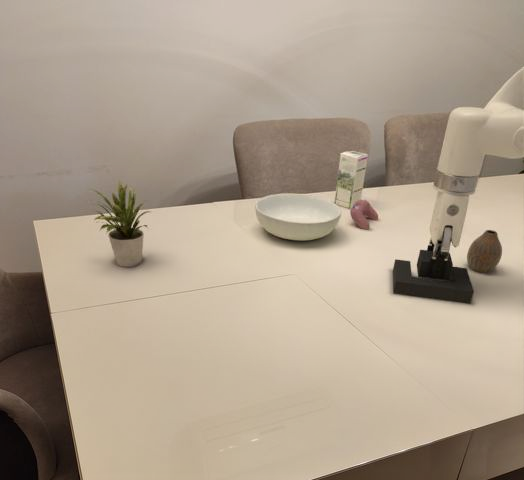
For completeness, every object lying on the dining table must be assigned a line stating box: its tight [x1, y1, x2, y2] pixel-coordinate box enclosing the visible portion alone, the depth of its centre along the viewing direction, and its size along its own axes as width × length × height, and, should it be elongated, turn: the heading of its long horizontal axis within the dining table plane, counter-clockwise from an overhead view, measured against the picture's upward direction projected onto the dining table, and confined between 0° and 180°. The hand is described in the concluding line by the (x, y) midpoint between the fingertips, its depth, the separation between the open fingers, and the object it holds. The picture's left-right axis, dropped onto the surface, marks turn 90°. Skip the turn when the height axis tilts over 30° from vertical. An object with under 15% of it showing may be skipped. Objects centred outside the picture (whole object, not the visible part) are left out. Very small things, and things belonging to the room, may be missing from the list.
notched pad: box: [392, 258, 475, 305], centre depth 102 cm, size 15×11×3 cm
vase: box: [466, 229, 503, 274], centre depth 110 cm, size 7×7×9 cm
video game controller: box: [349, 199, 379, 231], centre depth 132 cm, size 10×5×7 cm, turn 154°
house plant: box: [84, 180, 151, 268], centre depth 103 cm, size 14×14×16 cm
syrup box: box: [334, 150, 369, 210], centre depth 141 cm, size 6×6×14 cm
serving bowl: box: [254, 193, 342, 241], centre depth 123 cm, size 21×21×7 cm
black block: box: [416, 249, 454, 281], centre depth 102 cm, size 6×6×4 cm
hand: (433, 269), depth 103 cm, fingers closed on black block, 5 cm apart
